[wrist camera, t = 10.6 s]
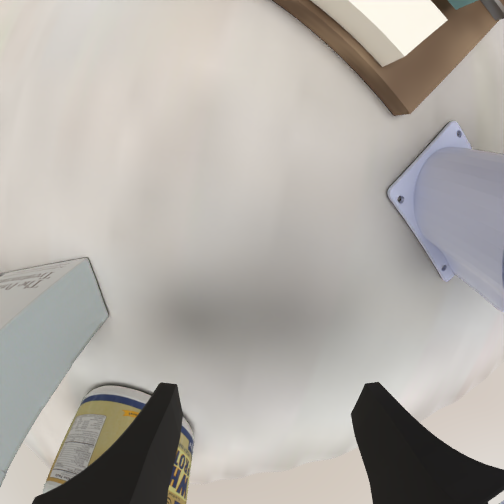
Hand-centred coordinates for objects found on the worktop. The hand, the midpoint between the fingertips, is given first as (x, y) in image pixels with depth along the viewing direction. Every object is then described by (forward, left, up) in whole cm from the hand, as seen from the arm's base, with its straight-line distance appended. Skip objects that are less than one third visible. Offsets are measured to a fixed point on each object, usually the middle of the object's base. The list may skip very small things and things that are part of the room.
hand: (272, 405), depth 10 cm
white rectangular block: (+10, -17, -7) cm, 21 cm away
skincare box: (+15, +16, -10) cm, 24 cm away
